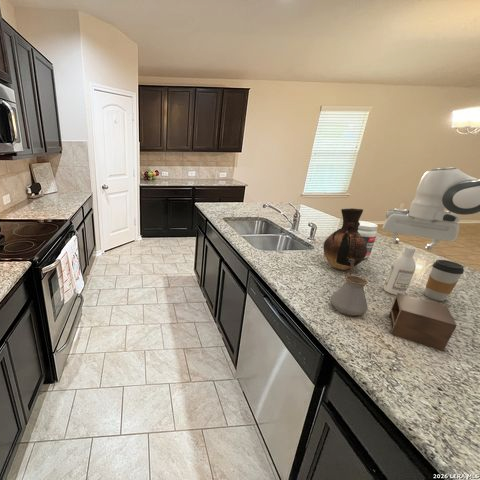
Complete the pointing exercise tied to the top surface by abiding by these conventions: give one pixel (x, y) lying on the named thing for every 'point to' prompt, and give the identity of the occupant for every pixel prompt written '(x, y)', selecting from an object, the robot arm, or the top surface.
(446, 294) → the coffee cup
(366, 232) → the supplement tub
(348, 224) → the ceramic vessel
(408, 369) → the top surface
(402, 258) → the bath foam
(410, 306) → the shelf
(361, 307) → the coffee pot
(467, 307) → the top surface
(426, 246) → the robot arm
